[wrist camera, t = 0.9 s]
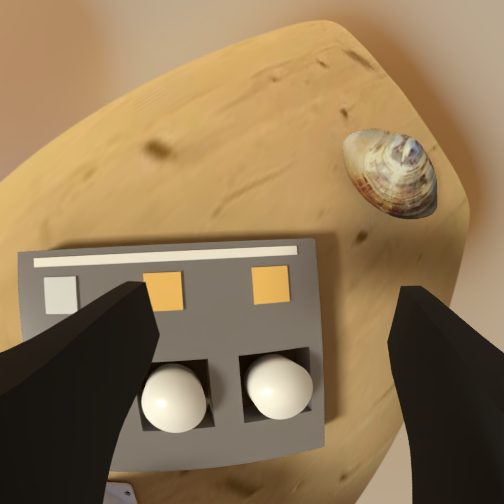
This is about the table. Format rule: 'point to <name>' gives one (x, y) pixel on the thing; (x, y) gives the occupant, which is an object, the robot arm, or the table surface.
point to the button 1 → (278, 386)
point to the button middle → (173, 398)
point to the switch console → (199, 336)
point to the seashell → (391, 172)
